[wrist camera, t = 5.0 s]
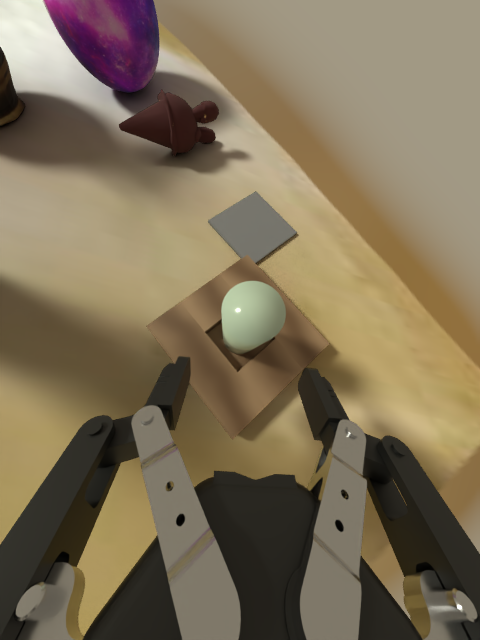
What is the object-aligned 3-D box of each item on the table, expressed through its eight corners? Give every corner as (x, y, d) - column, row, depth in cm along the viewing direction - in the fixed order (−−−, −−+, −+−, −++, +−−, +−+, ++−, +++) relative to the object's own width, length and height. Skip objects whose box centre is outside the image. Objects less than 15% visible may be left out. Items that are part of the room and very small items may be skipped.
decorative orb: (186, 95, 35) (159, -96, 20) (116, 125, 32) (25, -79, 17) (141, 53, 37) (87, -149, 22) (71, 77, 33) (-46, -143, 19)
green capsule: (237, 361, 23) (251, 357, 11) (215, 335, 24) (207, 305, 12) (262, 339, 24) (298, 315, 12) (241, 314, 25) (256, 269, 13)
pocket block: (231, 432, 21) (232, 439, 19) (153, 329, 23) (146, 326, 21) (320, 345, 25) (329, 343, 23) (245, 263, 27) (247, 254, 25)
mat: (249, 268, 27) (250, 266, 26) (208, 222, 28) (208, 220, 28) (296, 234, 29) (297, 232, 29) (255, 193, 30) (255, 191, 30)
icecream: (117, 126, 23) (227, 124, 27) (98, 68, 23) (212, 74, 26) (134, 171, 30) (220, 164, 34) (120, 126, 30) (209, 125, 33)
